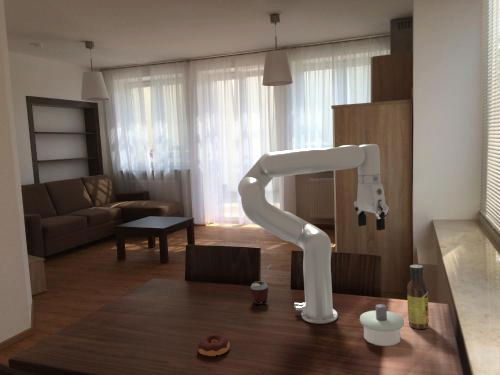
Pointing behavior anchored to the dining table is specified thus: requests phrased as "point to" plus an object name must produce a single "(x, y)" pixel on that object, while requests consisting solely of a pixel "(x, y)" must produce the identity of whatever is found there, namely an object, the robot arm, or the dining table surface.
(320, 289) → the robot arm
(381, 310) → the lid
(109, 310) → the dining table surface
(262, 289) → the mate gourd
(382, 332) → the bowl
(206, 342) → the donut
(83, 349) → the dining table surface
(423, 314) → the sauce bottle
